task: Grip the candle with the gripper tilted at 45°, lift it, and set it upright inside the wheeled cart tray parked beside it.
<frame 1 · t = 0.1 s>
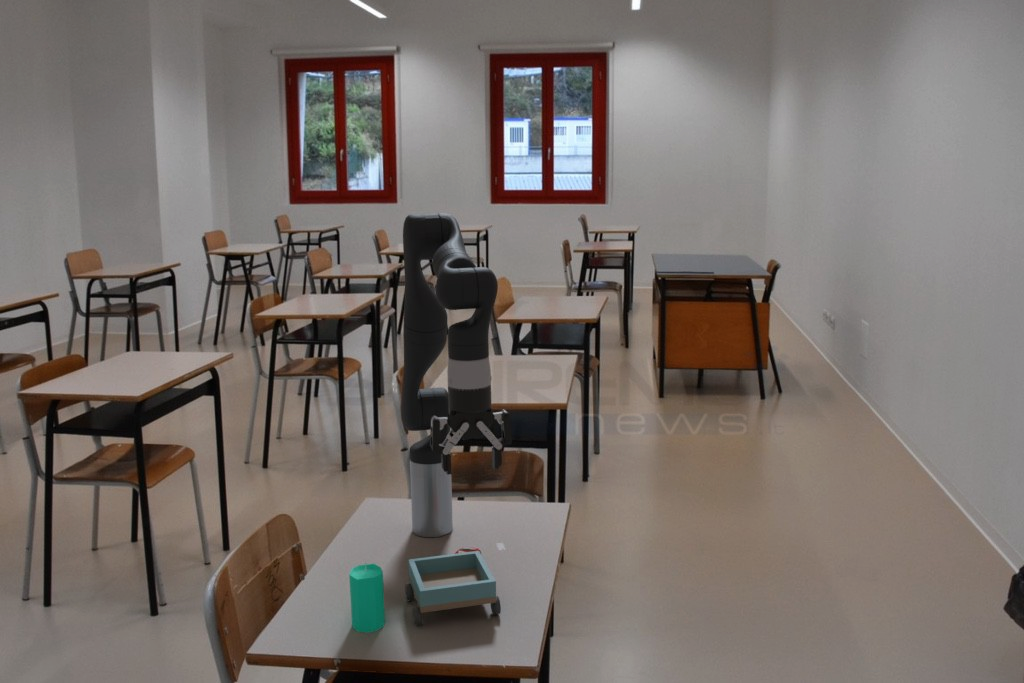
hand: (471, 470, 167), 29 cm above the table, tool pointing down, fingers open, 8 cm apart
candle: (368, 625, 173), on the table
race car: (461, 573, 195), on the table
cart: (451, 588, 178), point 4 cm above the table, slide at 0.0 cm
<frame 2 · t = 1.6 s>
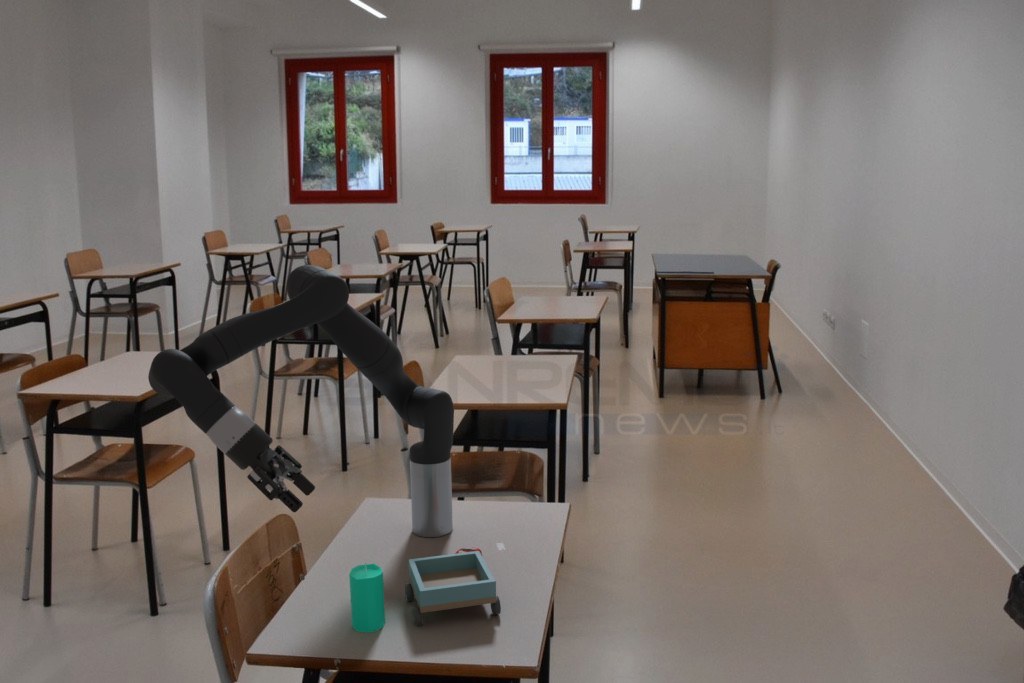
hand: (305, 500, 169), 24 cm above the table, tool tilted 45°, fingers open, 8 cm apart
nothing on the table moved.
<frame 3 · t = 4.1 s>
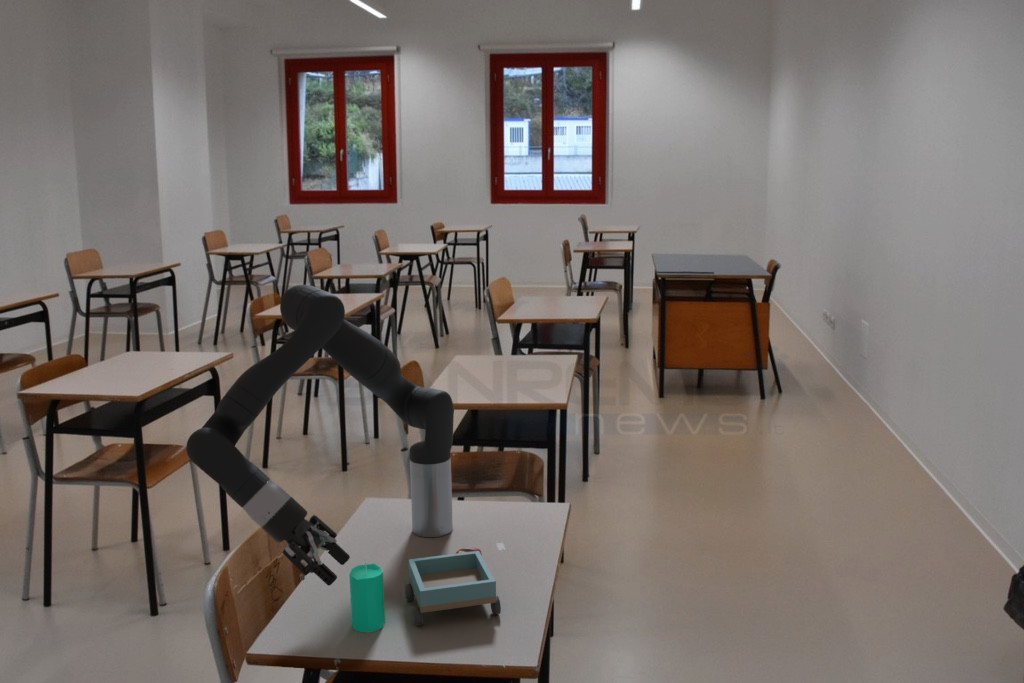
hand: (340, 571, 172), 10 cm above the table, tool tilted 45°, fingers open, 8 cm apart
nothing on the table moved.
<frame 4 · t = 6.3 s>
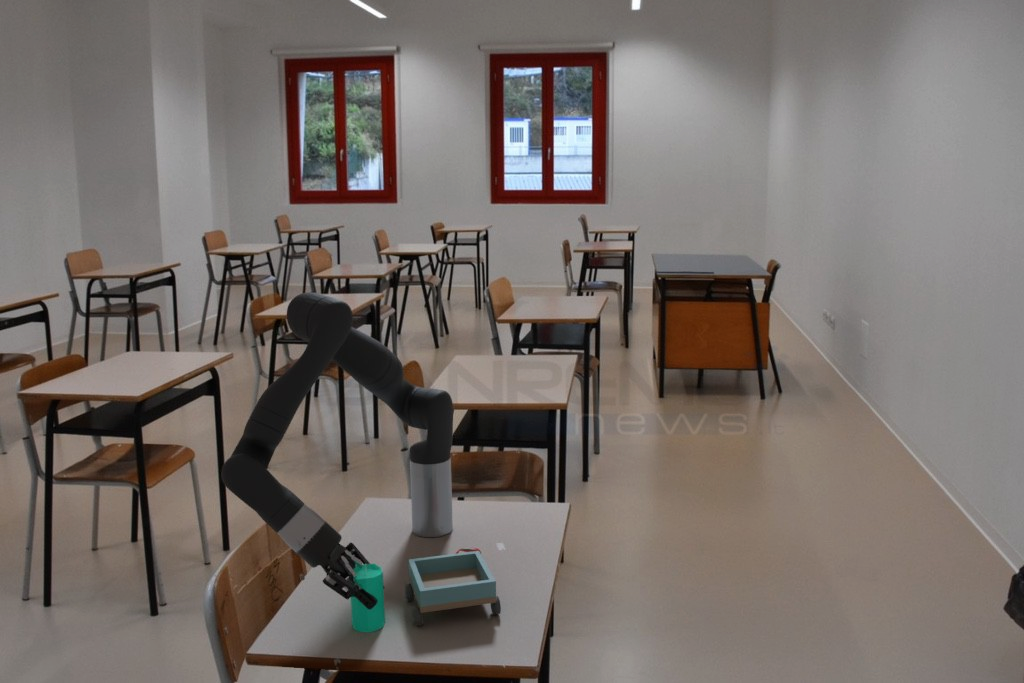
hand: (377, 598, 172), 5 cm above the table, tool tilted 45°, fingers closed on candle, 4 cm apart
candle: (368, 625, 173), on the table, touching gripper
everything else where it was.
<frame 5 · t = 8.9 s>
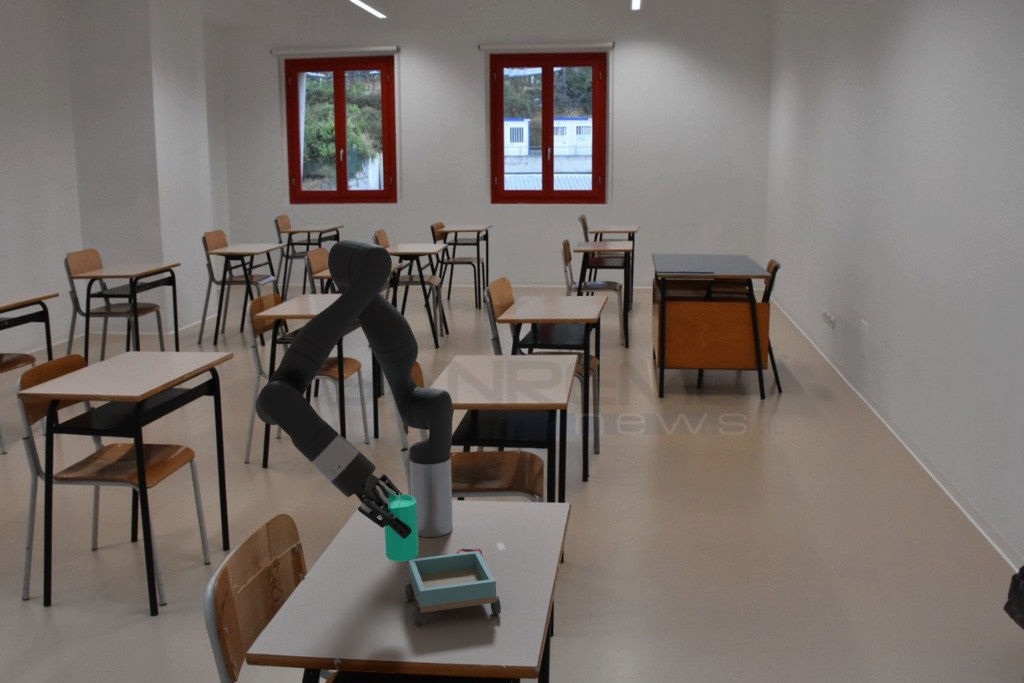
hand: (411, 528, 173), 17 cm above the table, tool tilted 45°, fingers closed on candle, 4 cm apart
candle: (402, 555, 174), point 12 cm above the table, touching gripper
everything else where it was.
when the fingers open (11 cm above the table, at t = 11.6 s): candle drops 1 cm, resting on cart.
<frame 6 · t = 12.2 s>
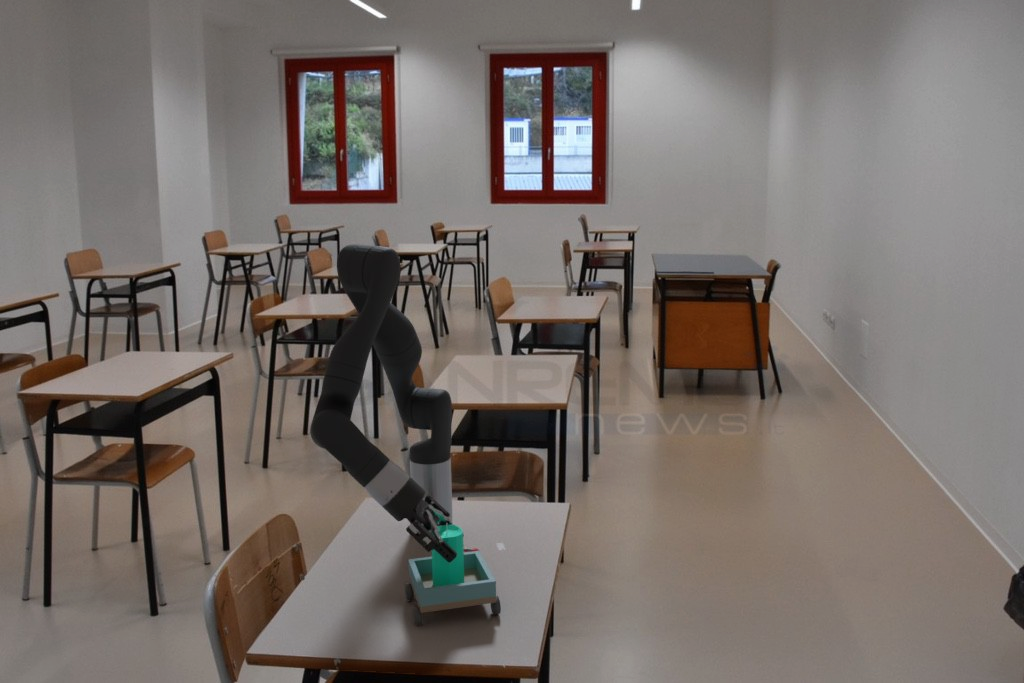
hand: (457, 549, 177), 12 cm above the table, tool tilted 45°, fingers open, 8 cm apart
candle: (448, 584, 179), point 4 cm above the table, touching cart
cart: (451, 588, 178), point 4 cm above the table, slide at 0.0 cm, touching candle
everything else where it was.
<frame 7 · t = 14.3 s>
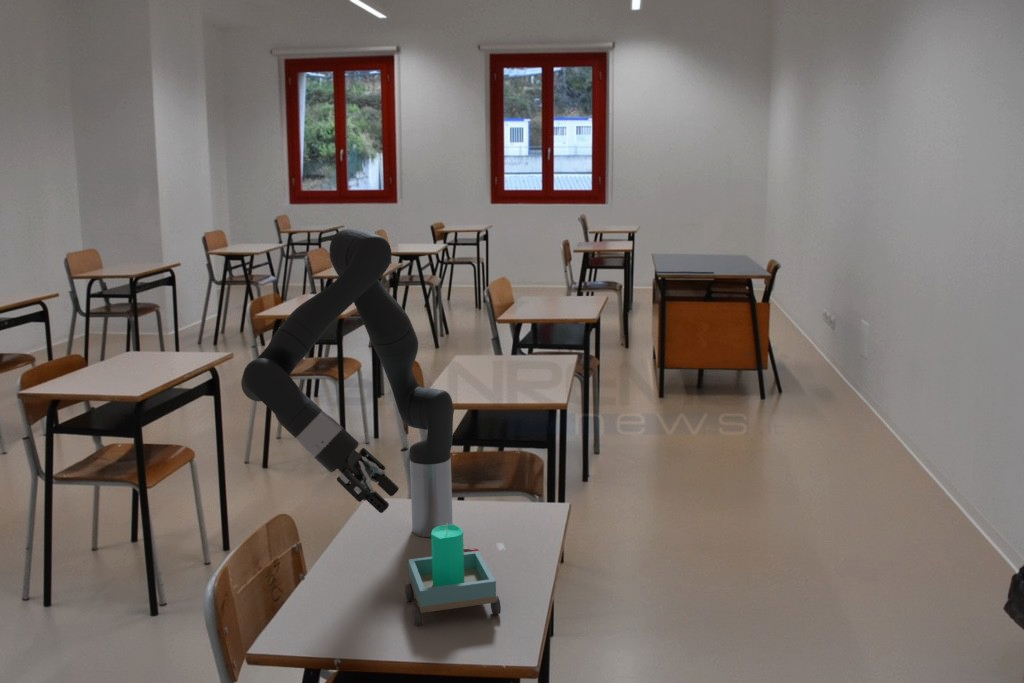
hand: (390, 500, 176), 21 cm above the table, tool tilted 45°, fingers open, 8 cm apart
nothing on the table moved.
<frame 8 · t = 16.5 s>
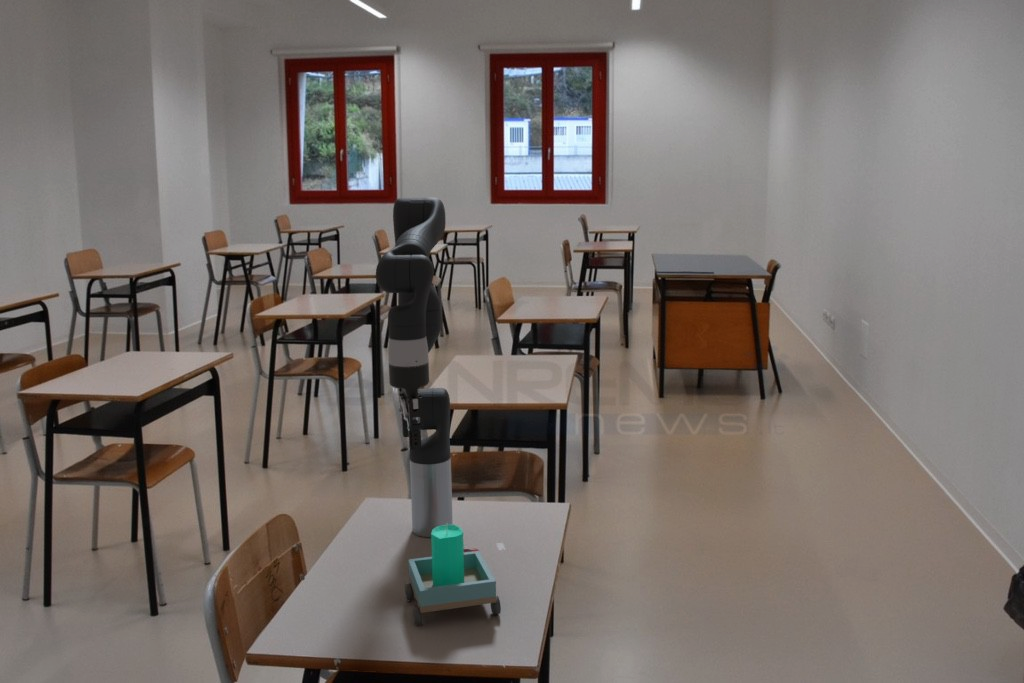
hand: (411, 442, 181), 30 cm above the table, tool pointing down, fingers open, 8 cm apart
nothing on the table moved.
at the end: candle inside the target area on the cart (0.9 cm from its centre), point 4.4 cm above the cart's base; candle tilted 0°; the gripper is holding nothing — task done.
